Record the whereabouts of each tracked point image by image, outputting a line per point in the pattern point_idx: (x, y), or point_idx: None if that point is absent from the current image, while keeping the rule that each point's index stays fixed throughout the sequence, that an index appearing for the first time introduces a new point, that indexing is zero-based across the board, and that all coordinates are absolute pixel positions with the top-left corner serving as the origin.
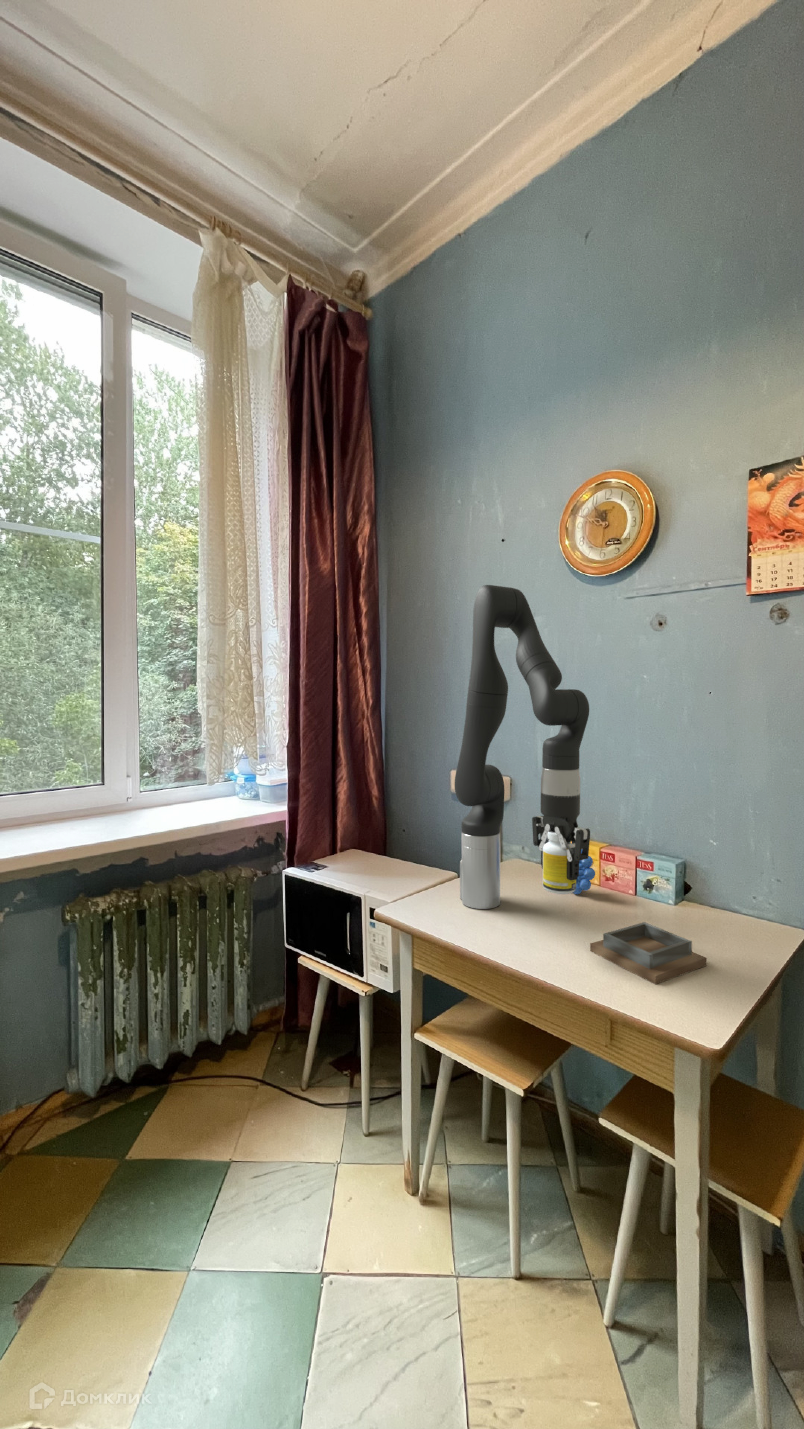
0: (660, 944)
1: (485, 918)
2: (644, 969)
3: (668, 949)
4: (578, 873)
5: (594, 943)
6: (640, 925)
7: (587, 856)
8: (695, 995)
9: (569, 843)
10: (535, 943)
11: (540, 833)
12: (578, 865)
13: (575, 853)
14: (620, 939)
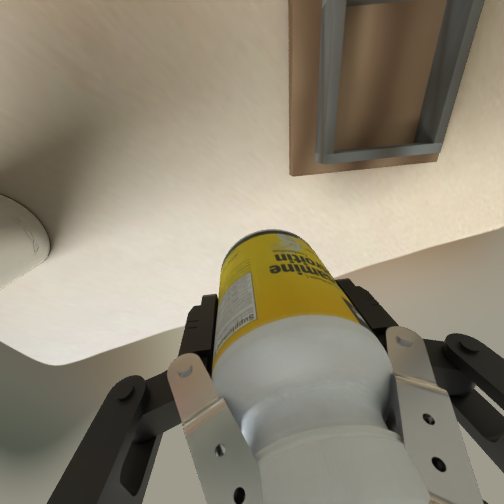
0: (382, 12)
1: (99, 261)
2: (413, 160)
3: (459, 83)
4: (370, 297)
5: (297, 168)
6: (344, 15)
7: (484, 351)
8: (486, 126)
9: (382, 419)
10: (224, 240)
11: (128, 492)
12: (391, 320)
13: (453, 407)
14: (363, 150)
